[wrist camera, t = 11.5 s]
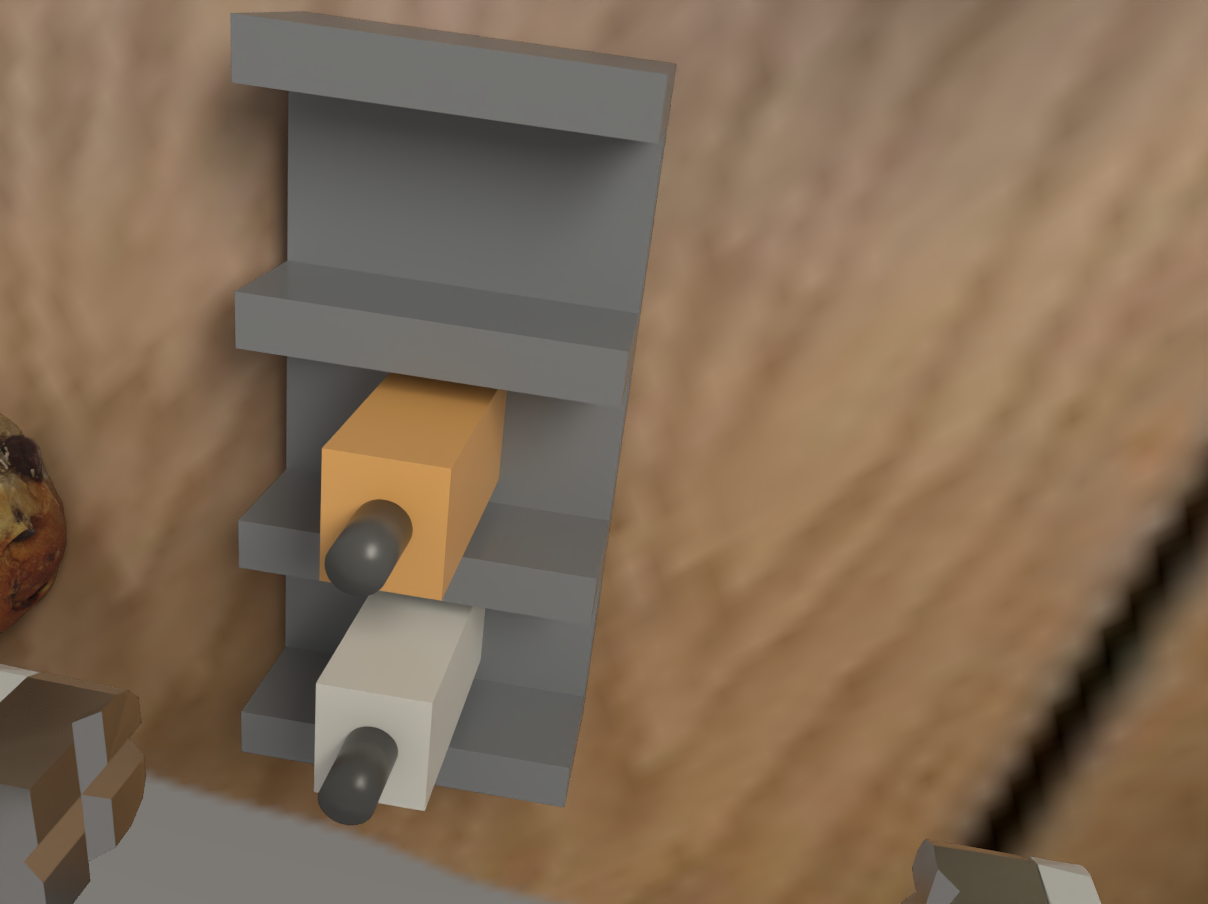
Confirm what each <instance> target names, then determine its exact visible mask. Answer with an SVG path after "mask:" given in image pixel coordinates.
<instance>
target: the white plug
mask: <svg viewBox="0 0 1208 904" xmlns="http://www.w3.org/2000/svg"><path fill="white" fill-rule="evenodd" d="M484 618H485V608H481V607H475V606H469V605H463V604H457V603H451V602H445V601H439V600H433V599H427V598H421V597H415V596H409V595H403V594H396V593H390V592H384V591H378V592H376V593H374V594H372V595H369V596H368V597H367V599H366V601H365V602H364V604H363V606H362V607H361V609H360V611H359V612H358V614H357V616H356V617H355V619H354V621H353V622H352V624H351V626H350V627H349V629H348V631H347V632H346V634H345V636H344V637H343V639H342V641H341V642H340V644H339V646H338V647H337V649H336V651H335V652H334V654H333V656H332V657H331V659H330V661H329V662H328V664H327V666H326V667H325V669H324V671H323V672H322V674H321V676H320V677H319V679H318V681H317V682H316V709H315V761H314V792H318V802H319V805H320V807H321V809H322V811H323V812H324V813H325V814H326V815H327V816H328V817H329V818H331V819H332V820H334V821H336V822H338V823H341V824H345V825H358V824H362V823H364V822H366V821H367V820H369V819H370V818H371V816H372V815H373V813H374V810H375V808H376V806H377V804H378V803H381V804H387V805H393V806H399V807H404V808H410V809H416V810H421V811H425V809H426V806H427V803H428V801H429V798H430V795H431V793H432V790H433V787H434V785H435V782H436V779H437V776H438V774H439V771H440V768H441V766H442V763H443V760H444V758H445V755H446V752H447V749H448V747H449V744H450V741H451V739H452V736H453V733H454V731H455V728H456V725H457V722H458V720H459V717H460V714H461V712H462V709H463V706H464V704H465V701H466V698H467V695H468V693H469V690H470V687H471V685H472V682H473V679H474V677H475V674H476V671H477V668H478V666H479V663H480V660H481V650H482V639H483V629H484Z"/></svg>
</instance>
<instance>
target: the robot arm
mask: <svg viewBox="0 0 1208 904" xmlns="http://www.w3.org/2000/svg"><path fill="white" fill-rule="evenodd" d="M141 723H142V719H141V712H140V704H139V697H138V696H136V695H135V694H133V693H132V692H131V691H129V690H125V689H121V688H116V687H111V686H107V685H102V684H97V683H92V682H88V681H83V680H78V679H74V678H69V677H64V676H59V675H55V674H50V673H45V672H41V673H39V672H35V671H31V670H26V669H22V668H17V667H12V666H8V665H3V664H0V904H73V903H74V902H75V900H76V899H77V898H78V896H79V895H80V894H81V893H82V891H83V890H84V889H85V887H86V886H87V885H88V883H89V882H90V873H89V863H88V861H90V860H92V859H94V858H96V857H98V856H100V855H102V854H103V853H106V852H107V851H109V850H111V849H113V848H115V847H116V846H117V845H118V843H119V842H120V840H121V839H122V838H123V836H124V835H125V834H126V832H127V831H128V830H129V828H130V827H131V825H132V823H133V820H134V818H135V816H136V813H137V811H138V808H139V806H140V803H141V801H142V799H143V793H144V787H145V780H146V767H145V756H144V755H143V754H142V752H141V751H140V750H139V749H138V747H137V746H136V745H135V743H134V742H133V741H132V740H131V738H130V736H131V735H132V734H133V733H134V732H135V730H136V729H137V728H138V727H139V726H140V724H141ZM912 871H913V877H914V884H915V890H916V893H914V894H913V895H911V896H909V897H908V898H906V899H905V900H903V901H902V902H901V904H1101V902H1100V899H1099V896H1098V894H1097V891H1096V888H1095V886H1094V883H1093V881H1092V878H1091V875H1090V873H1089V872H1088V871H1087V870H1086V869H1085V868H1084V867H1083V866H1082V865H1077V864H1071V863H1065V862H1059V861H1053V860H1047V859H1041V858H1035V857H1028V858H1026V857H1024V856H1019V855H1013V854H1007V853H1002V852H996V851H991V850H985V849H980V848H974V847H968V846H963V845H957V844H952V843H946V842H940V841H935V840H929V839H925V840H924V841H923V843H922V844H921V846H920V847H919V849H918V852H917V855H916V858H915V861H914V864H913V867H912Z"/></svg>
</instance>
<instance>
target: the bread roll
mask: <svg viewBox="0 0 1208 904" xmlns="http://www.w3.org/2000/svg"><path fill="white" fill-rule="evenodd" d="M39 449H40V448H39V447H38V445H37V444H36V442H34V441H33V440H31V439H29V438H25V437H24V435H23V434H22V430H20V429H19V428H18V427H17V426H16V425H15V424H14V423H13V422H12V421H11V420H10V419H8V418H6V417H5V416H3V415H1V414H0V633H2V632H3V631H4V630H6V629H7V628H9V627H10V626H11V625H13V624H14V623H15V622H16V621H17V620H18V619H19V618H20V617H22V616H23V615H24V614H25V613H26V612H27V611H28V610H29V609H30V608H32V607H33V606H34V605H35V604H37V603H38V602H39V601H40V600H41V599H42V598H43V597H44V595H45V594H46V593H47V592H48V591H49V589H50V588H51V586H52V585H53V582H54V580H55V577H56V575H57V571H58V567H59V563H60V561H61V559H62V557H63V554H64V549H65V545H66V527H65V519H64V510H63V503H62V501H61V499H60V497H59V495H58V494H57V492H56V490H55V488H54V486H53V484H52V482H51V480H50V477H49V475H48V473H47V471H46V470H45V468H44V466H43V463H42V460H41V456H40V450H39Z"/></svg>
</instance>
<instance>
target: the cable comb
mask: <svg viewBox="0 0 1208 904" xmlns="http://www.w3.org/2000/svg"><path fill="white" fill-rule="evenodd" d="M230 16H231V82H232V83H238V84H245V85H252V86H259V87H266V88H273V89H280V90H286V91H288V244H287V261H286V262H284V263H282V264H280V265H279V266H277V267H275V268H274V269H272V270H270V271H269V272H267V273H265V274H264V275H262V276H260V277H258V278H257V279H255V280H253V281H252V282H250V283H248V284H247V285H245V286H243V287H242V288H240V289H238V290H236V291H235V342H236V348H237V349H244V350H250V351H257V352H263V353H270V354H276V355H282V356H287V440H286V470H285V471H284V472H283V473H282V474H281V475H280V476H279V477H278V478H277V480H276V481H275V482H274V483H273V484H272V485H271V486H270V487H269V488H268V489H267V490H266V491H265V492H264V493H263V494H262V496H261V497H260V498H259V499H258V500H257V501H256V502H255V503H254V504H253V505H252V506H251V507H250V508H249V509H248V510H247V512H246V513H245V514H244V515H243V516H242V517H241V518H240V519H239V520H238V538H239V568H245V569H251V570H257V571H263V572H269V573H275V574H281V575H286V636H285V648H284V650H283V651H282V652H281V654H280V655H279V657H278V658H277V660H276V661H275V663H274V664H273V666H272V667H271V669H270V670H269V672H268V673H267V675H266V676H265V677H264V679H263V680H262V682H261V683H260V685H259V686H258V688H257V689H256V691H255V692H254V694H253V695H252V697H251V698H250V699H249V701H248V702H247V704H246V705H245V707H244V708H243V710H242V711H241V733H242V752H247V753H253V754H259V755H265V756H270V757H276V758H282V759H288V760H294V761H299V762H305V763H311V764H314V761H315V709H316V682H317V681H318V679H319V677H320V676H321V674H322V672H323V671H324V669H325V667H326V666H327V664H328V662H329V661H330V659H331V657H332V656H333V654H334V652H335V651H336V649H337V647H338V646H339V644H340V642H341V641H342V639H343V637H344V636H345V634H346V632H347V631H348V629H349V627H350V626H351V624H352V622H353V621H354V619H355V617H356V616H357V614H358V612H359V611H360V609H361V607H362V606H363V604H364V602H365V601H366V599H367V597H368V596H353V595H349V594H346V593H344V592H342V591H341V590H339V589H338V588H337V587H335V586H334V585H333V584H332V583H331V582H325V581H319V573H320V523H321V472H322V448H323V447H324V445H325V444H326V443H327V442H328V441H329V440H330V439H331V438H332V437H333V435H334V434H335V433H336V432H337V431H338V430H339V429H340V428H341V427H342V425H343V424H344V423H345V422H346V421H347V420H348V419H349V418H350V417H351V415H352V414H353V413H354V412H355V411H356V410H357V409H358V408H359V407H360V405H361V404H362V403H363V402H364V401H365V400H366V399H367V398H368V397H369V396H370V394H371V393H372V392H373V391H374V390H375V389H376V388H377V387H378V386H379V384H380V383H381V382H382V381H383V380H384V379H385V378H386V377H387V376H388V374H389V373H390V372H392V373H398V374H405V375H411V376H418V377H424V378H430V379H437V380H443V381H450V382H456V383H463V384H469V385H475V386H482V387H488V388H495V389H501V390H507V396H506V407H505V417H504V428H503V439H502V449H501V460H500V470H499V480H498V482H497V484H496V487H495V489H494V491H493V493H492V495H491V497H490V499H489V501H488V503H487V506H486V508H485V510H484V512H483V514H482V516H481V518H480V520H479V523H478V525H477V527H476V529H475V531H474V533H473V535H472V537H471V539H470V542H469V544H468V546H467V548H466V550H465V552H464V554H463V556H462V559H461V561H460V563H459V565H458V567H457V569H456V571H455V573H454V575H453V578H452V580H451V582H450V584H449V586H448V588H447V590H446V592H445V595H444V597H443V599H442V601H445V602H451V603H457V604H463V605H469V606H475V607H481V608H485V618H484V629H483V639H482V650H481V660H480V663H479V666H478V668H477V671H476V674H475V677H474V679H473V682H472V685H471V687H470V690H469V693H468V695H467V698H466V701H465V704H464V706H463V709H462V712H461V714H460V717H459V720H458V722H457V725H456V728H455V731H454V733H453V736H452V739H451V741H450V744H449V747H448V749H447V752H446V755H445V758H444V760H443V763H442V766H441V768H440V771H439V774H438V776H437V779H436V782H435V785H438V786H443V787H449V788H455V789H461V790H467V791H472V792H478V793H484V794H490V795H495V796H501V797H507V798H513V799H518V800H524V801H530V802H536V803H541V804H547V805H553V806H559V807H565V802H566V797H567V792H568V787H569V782H570V777H571V772H572V766H573V761H574V756H575V751H576V746H577V741H578V736H579V731H580V726H581V721H582V716H583V709H584V702H585V696H586V689H587V682H588V675H589V668H590V661H591V654H592V647H593V640H594V633H595V626H596V619H597V612H598V605H599V598H600V591H601V584H602V577H603V570H604V563H605V556H606V550H607V543H608V536H609V529H610V522H611V515H612V508H613V501H614V494H615V487H616V480H617V473H618V466H619V459H620V452H621V445H622V438H623V431H624V424H625V417H626V410H627V404H628V397H629V390H630V383H631V376H632V369H633V362H634V355H635V348H636V341H637V334H638V327H639V320H640V313H641V306H642V299H643V292H644V285H645V278H646V271H647V264H648V258H649V251H650V244H651V237H652V230H653V223H654V216H655V209H656V202H657V195H658V188H659V181H660V174H661V167H662V160H663V153H664V146H665V139H666V132H667V125H668V118H669V112H670V105H671V98H672V91H673V84H674V77H675V70H676V64H674V63H667V62H660V61H653V60H646V59H638V58H631V57H624V56H617V55H610V54H603V53H596V52H588V51H581V50H574V49H567V48H560V47H553V46H546V45H538V44H531V43H524V42H517V41H510V40H503V39H495V38H488V37H481V36H474V35H467V34H460V33H453V32H445V31H438V30H431V29H424V28H417V27H410V26H403V25H395V24H388V23H381V22H374V21H367V20H360V19H353V18H345V17H338V16H331V15H324V14H317V13H310V12H259V13H230ZM384 592H386V591H384ZM390 593H392V592H390ZM396 594H398V593H396ZM403 595H404V594H403ZM409 596H410V595H409ZM415 597H416V596H415ZM421 598H422V597H421ZM427 599H428V598H427ZM433 600H434V599H433ZM439 601H440V600H439Z"/></svg>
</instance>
